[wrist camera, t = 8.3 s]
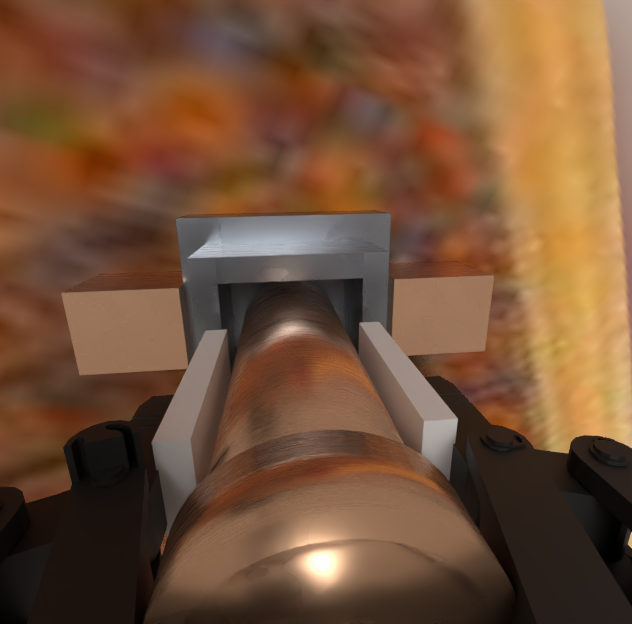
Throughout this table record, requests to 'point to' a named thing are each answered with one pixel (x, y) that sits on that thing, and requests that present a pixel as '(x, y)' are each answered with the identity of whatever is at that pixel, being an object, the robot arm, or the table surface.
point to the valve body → (264, 269)
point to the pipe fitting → (319, 497)
